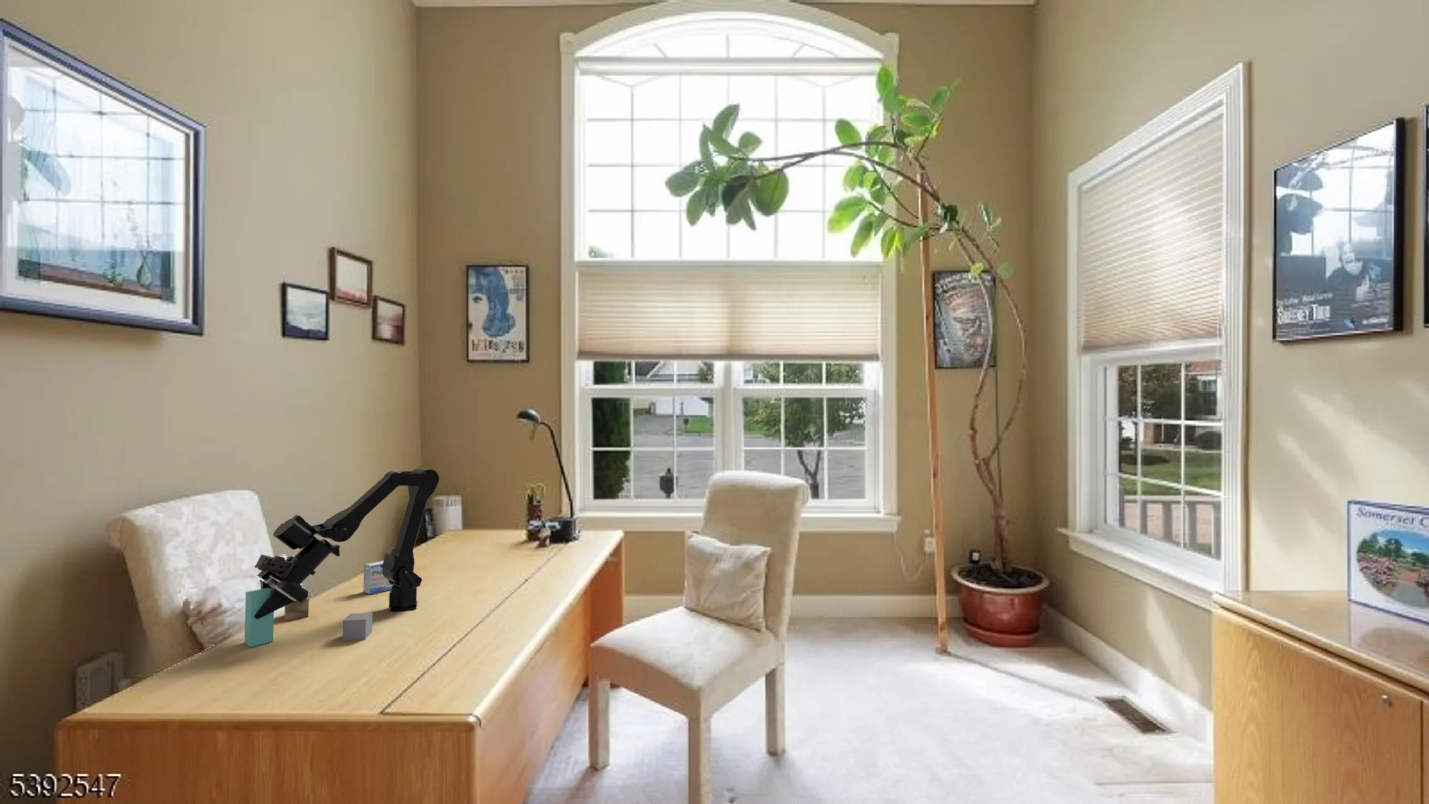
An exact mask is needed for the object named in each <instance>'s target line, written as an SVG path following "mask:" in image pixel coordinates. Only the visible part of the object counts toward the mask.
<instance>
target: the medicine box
mask: <svg viewBox="0 0 1429 804" xmlns="http://www.w3.org/2000/svg"><path fill="white" fill-rule="evenodd" d="M383 561H384V560H380V561H375V562H374V561H373V562H369V563H364V564H363V593H365V594H368V595H370V594H371V595H375V594H379V592H380V593H383V592H382V591H384V592H389V591H391V590H392V586H393V585H392V584H390V583H389V581H388V579H386V578H385V577H384V576H383V574H382V568H381V565H382V564H383Z"/></svg>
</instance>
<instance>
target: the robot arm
mask: <svg viewBox="0 0 1429 804" xmlns="http://www.w3.org/2000/svg"><path fill="white" fill-rule="evenodd" d="M439 482H440V475H439V474H438V472H437V471H436V470H435V469H430V468H425V467H417V468H415V469H413V470H410V471H409V470H405V471H404V470H403V471H394V470H389V471H388V472H386V473H385V474H384V476H383V477H382V478H381V479H379V480H378V481H377V482H376V483H375V484H374V485H373V486H372V487H370V489H368V490H367V491H366V492H365V493H363V495H362V496H360V497H359V498H358V499H357V500H356V501H355V502H354V503H352V504H351V505H350V506H348V507H347V508H344V509H343V510H340V511H338V512H337V513H335V514H334V515H332V516H331V517H329V518H327V519H326V520H325V521H324V522H322V523H318V524H314V525H311V524H310V523H308V522H307V521H306V520H305V519H304V518H303V516H301V515H299V514H295V515H294V516H293V517H292V518H289V519H287V520H286V521H285V522H282V523H280V525H279V526H277V528H276V529H275V530H274V531H273V534H272V536H273V537H274V538H275V539H277V540H278V541H279V542H281V543H282V544H283V545H285V546H287V548H289V549H291V550H292V551H294V550H297V549H299V551H298V553H296V554H295V555H294V556H292V555H290V556H288V557H287V558H285V557H284V556H279V555H275V556H270V555H266V554H260V556H259V558H258V560H257V562H256V564H255V566H254V568H256V569H257V570H259V571H260V572H259V573H258V574H257V577H259V578H260V579H259V584H260V589H265V588H269V589H271V592H270V596H269V598H268V599H267V600H266V601H265V603H264V604H263V605H262V606H261V608H260V609H259V610H258V611H257V613H256V614H255V616H254V618H256V619H260V618H262V617H264V616H266V615H268V614H270V613H272V612H274V613H275V611H278V610H281V609H282V608H285V606H286V605H289V604H291V603H294V602H295V601H293V599H296V600H297V601H298V602H300V603H303V602H304V601H305V600H306V599H307V598H309V591H308V590H307V589H305V588H304V587H303V585H302V584H303V583H304V581H305V580H306V579H307V578H308V577H309V576H310V575H311V576H312V577H313V576H314V575H315V574H316V571H315V570H316V569H317V568H318V567H319V566H320V565H321V564H322V562H323V561H325V560H326V559H327V558H328V557H329V556H330V554H331V555H333V556H335V557H340V556H341V553H340V552H341V551H340V548H341V546H340V545H339V544H332V543H330V541H333V542H335V543H342V542H343V543H344V542H346V541H348V540H349V539H351V538H352V536H354V534H355V533H356V532H357V530H358V529H359V528H360V526H361V524H362V522H363V521H364V519H365V518H366V517H367V516H368V515H369V514H370V512H372V511H373V510H375V508H376V507H377V506H378V505H379V504H381V503H382V502H383V501H384V500H385V499H386V498H387V497H388V496H389V495H390V494H392V493H393V492H394V491H395V490H396V489H397V488H398V487H401V486H402V487H403V486H405V487H407V491H408V497H409V498H408V502H407V505H406V509H405V513H404V516H403V520H402V523H401V526H400V529H399V534H398V536H397V540H396V544H395V547H394V548H393V550H392V551H391V552H390V553H388V552H385V553H384V555H383V560H382V561H383V564H382V565H381V568H382V574H383V576H384V577H385V578H386V579H388V581H389V583H390V584H392V585H393V586H392V590H389V595H388V607H389V609H390V610H389V611H390V612H399V611H410V610H416V609H417V608H418V607H417V606H418V599H417V598H418V587H421V584H422V581H423V578H422V577H420V576H419V575H418V574H417V573H415V572H414V571H415V563H416V562H415V556H414V555H415V554H414V548H415V545H416V541H417V538H418V534H419V531H420V527H421V524H422V520H423V516H424V512H425V509H426V507H427V503H428V501H429V499H430V498H431V497H432V495H433V494H434V493H435V491H436V489H437V487H438V484H439ZM316 536H319V537H321V538H323V539H318V537H316ZM327 539H328V540H330V541H328V540H327ZM261 579H262V580H261Z"/></svg>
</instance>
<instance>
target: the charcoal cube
mask: <svg viewBox="0 0 1429 804" xmlns="http://www.w3.org/2000/svg"><path fill="white" fill-rule="evenodd" d="M372 632H373V612H359V613H350V614H349V615H347V616H346V617H345V618H344V619H343V620H342V642H348V641H364V640H365V641H366V640H367V639H368V637H369V636H370V635H371V634H372Z"/></svg>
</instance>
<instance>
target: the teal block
mask: <svg viewBox="0 0 1429 804" xmlns="http://www.w3.org/2000/svg"><path fill="white" fill-rule="evenodd" d="M270 592H271V589H269V588H265V589H261V588H260V589H255V590H248V591H245V604H244V605H245V611H244V644H246V645H247V646H248V647H250V648H253V647H256V646H261V644H262V645H266V644H269V643H268V642H270V643H272V642H271V641H273V642H274V626H275V625H274V618H275V617H274V615H275V611H274V612H272V613H270V614H268V615H266V616H264V617H262V618H260V619H256V618H254V616H255V614H256V613H257V611H258V610H259V609H260V608H261V606H262V605H263V604H264V603H265V601H266V600H267V599H268V598H269V596H270ZM265 643H266V644H265Z"/></svg>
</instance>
